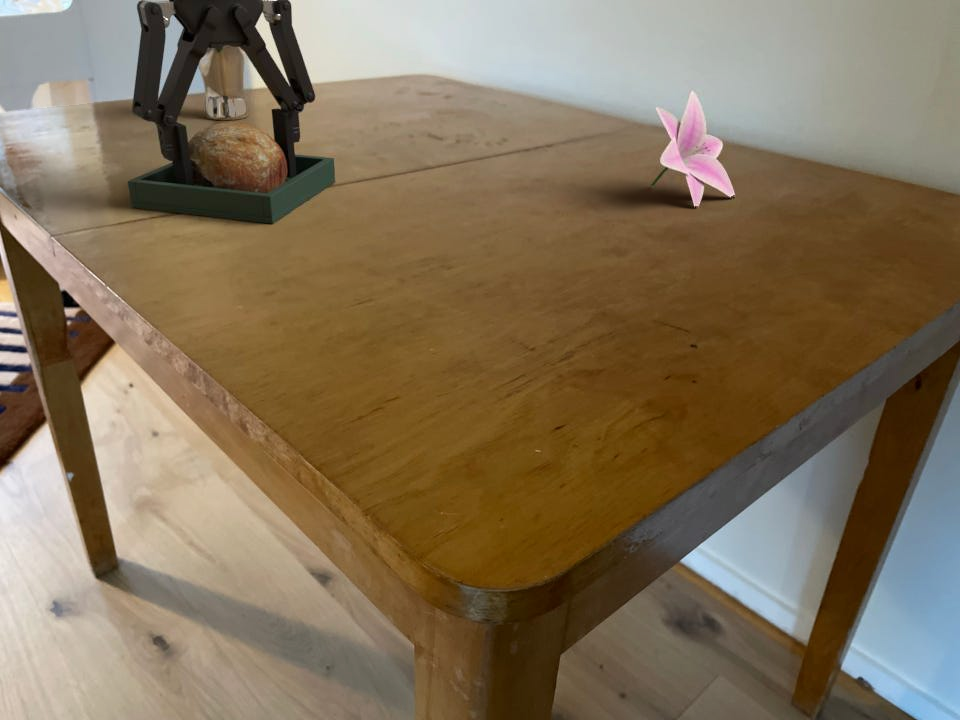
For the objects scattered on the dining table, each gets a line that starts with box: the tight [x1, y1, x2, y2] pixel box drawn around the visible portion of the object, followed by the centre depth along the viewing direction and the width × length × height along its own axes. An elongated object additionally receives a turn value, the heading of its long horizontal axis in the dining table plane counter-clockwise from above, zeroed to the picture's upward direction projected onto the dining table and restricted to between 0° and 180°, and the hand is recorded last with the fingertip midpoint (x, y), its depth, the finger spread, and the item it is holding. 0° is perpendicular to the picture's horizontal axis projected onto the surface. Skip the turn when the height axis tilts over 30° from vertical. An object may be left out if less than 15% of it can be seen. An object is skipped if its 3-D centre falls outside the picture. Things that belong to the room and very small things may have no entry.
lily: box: [650, 90, 736, 207], centre depth 82 cm, size 12×12×10 cm
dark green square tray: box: [127, 153, 336, 225], centre depth 78 cm, size 15×15×3 cm
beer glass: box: [198, 45, 250, 121], centre depth 108 cm, size 7×7×15 cm
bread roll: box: [188, 121, 287, 193], centre depth 77 cm, size 10×10×8 cm
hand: (238, 183), depth 79 cm, fingers closed on bread roll, 10 cm apart
